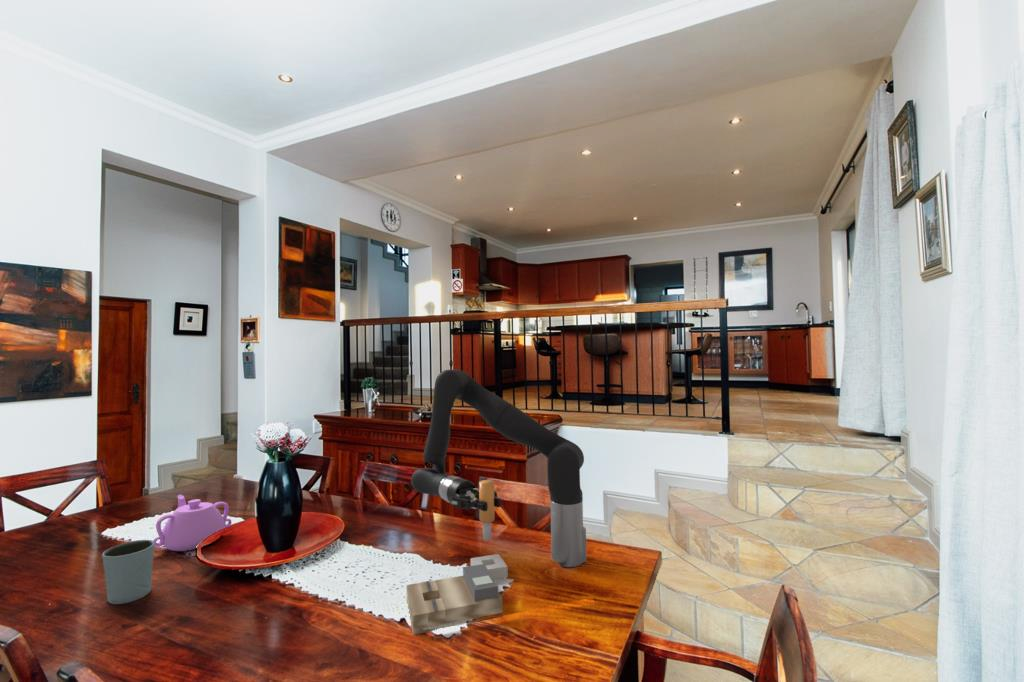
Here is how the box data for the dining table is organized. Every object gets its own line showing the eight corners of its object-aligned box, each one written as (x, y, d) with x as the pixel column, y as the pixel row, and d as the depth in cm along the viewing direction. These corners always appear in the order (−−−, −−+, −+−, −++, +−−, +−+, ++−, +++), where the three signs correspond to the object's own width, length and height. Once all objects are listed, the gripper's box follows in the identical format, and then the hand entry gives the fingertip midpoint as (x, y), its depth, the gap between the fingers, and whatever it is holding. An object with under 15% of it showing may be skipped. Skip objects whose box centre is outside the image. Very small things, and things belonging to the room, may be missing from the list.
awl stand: (498, 568, 129) (498, 553, 130) (507, 581, 122) (507, 566, 122) (470, 573, 127) (470, 558, 127) (477, 587, 119) (477, 571, 119)
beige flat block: (486, 587, 119) (486, 571, 119) (502, 616, 106) (502, 598, 106) (406, 601, 113) (406, 584, 113) (413, 634, 99) (413, 615, 100)
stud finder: (484, 573, 118) (484, 563, 118) (498, 597, 107) (497, 585, 107) (463, 577, 116) (463, 566, 116) (474, 601, 105) (474, 589, 105)
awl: (492, 534, 127) (491, 479, 127) (496, 540, 123) (495, 483, 123) (478, 536, 126) (477, 480, 126) (481, 542, 122) (481, 484, 122)
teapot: (214, 524, 166) (214, 485, 167) (242, 538, 154) (242, 496, 154) (137, 546, 148) (138, 502, 149) (163, 563, 136) (163, 515, 136)
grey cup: (163, 589, 121) (163, 542, 121) (119, 609, 111) (119, 558, 111) (136, 583, 124) (137, 537, 124) (91, 602, 114) (92, 553, 115)
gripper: (435, 482, 131) (471, 496, 118) (476, 473, 140) (513, 485, 127) (435, 509, 131) (471, 526, 118) (477, 498, 140) (514, 513, 127)
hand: (493, 505), depth 123 cm, fingers closed on awl, 4 cm apart
